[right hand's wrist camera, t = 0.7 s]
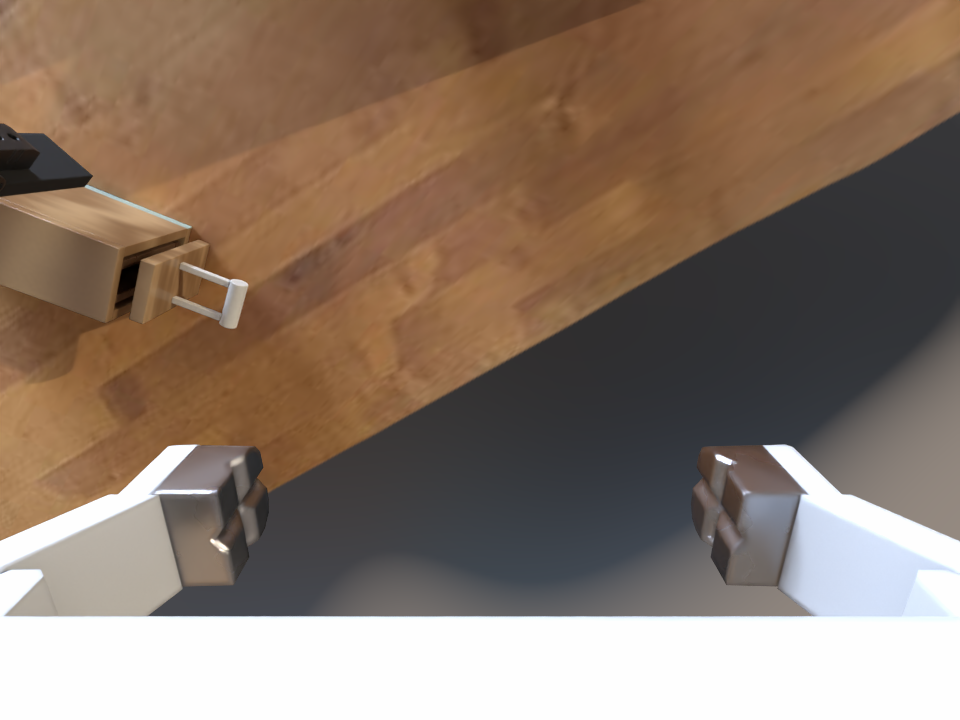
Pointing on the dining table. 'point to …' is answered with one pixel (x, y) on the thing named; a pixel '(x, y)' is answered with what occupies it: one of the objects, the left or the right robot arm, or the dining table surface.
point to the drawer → (175, 283)
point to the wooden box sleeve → (77, 246)
